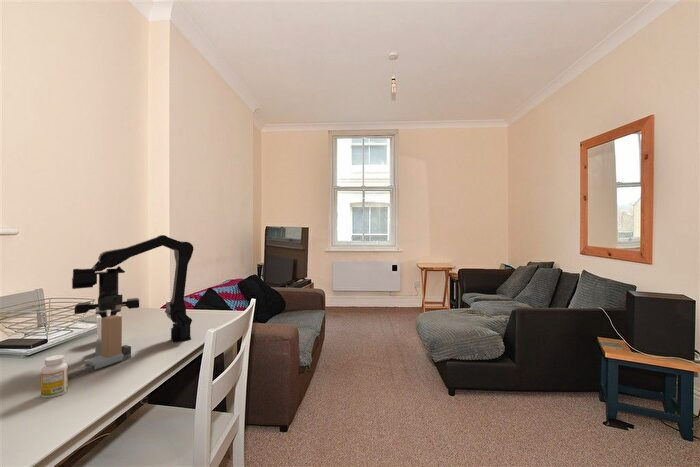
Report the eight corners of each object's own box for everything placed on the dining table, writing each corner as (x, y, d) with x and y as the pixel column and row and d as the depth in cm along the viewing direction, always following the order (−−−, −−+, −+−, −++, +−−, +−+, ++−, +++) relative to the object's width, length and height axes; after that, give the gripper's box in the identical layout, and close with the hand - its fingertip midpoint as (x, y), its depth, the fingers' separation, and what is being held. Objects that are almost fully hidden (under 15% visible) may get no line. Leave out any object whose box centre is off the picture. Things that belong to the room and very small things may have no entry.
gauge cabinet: (120, 348, 126) (120, 334, 126) (119, 353, 121) (119, 339, 121) (97, 351, 123) (97, 337, 123) (95, 357, 117) (95, 343, 117)
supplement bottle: (51, 389, 93) (51, 354, 93) (72, 388, 94) (72, 353, 94) (35, 398, 88) (35, 361, 88) (57, 398, 88) (57, 361, 88)
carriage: (112, 357, 115) (112, 314, 115) (123, 359, 113) (123, 316, 113) (84, 366, 107) (84, 320, 107) (95, 369, 105) (95, 322, 105)
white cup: (108, 344, 131) (108, 318, 131) (91, 342, 132) (91, 317, 132) (125, 338, 139) (125, 313, 139) (109, 336, 140) (109, 312, 140)
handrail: (125, 356, 118) (125, 345, 118) (131, 357, 117) (131, 346, 117) (47, 382, 97) (47, 369, 97) (53, 384, 96) (53, 370, 96)
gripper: (71, 291, 110) (71, 339, 110) (139, 287, 120) (139, 331, 120) (77, 287, 119) (77, 331, 119) (139, 283, 129) (139, 323, 129)
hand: (108, 329), depth 122 cm, fingers closed
